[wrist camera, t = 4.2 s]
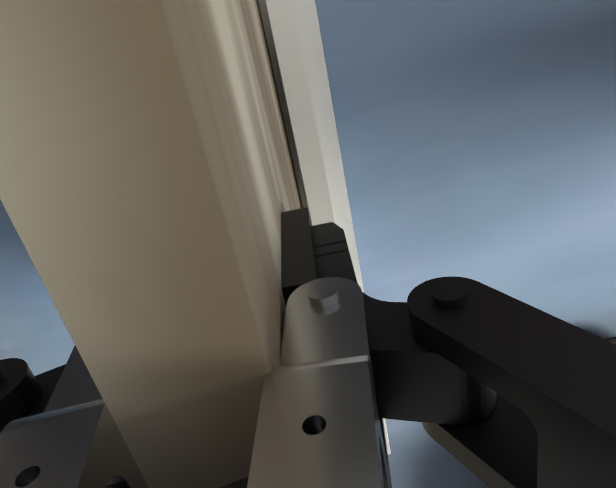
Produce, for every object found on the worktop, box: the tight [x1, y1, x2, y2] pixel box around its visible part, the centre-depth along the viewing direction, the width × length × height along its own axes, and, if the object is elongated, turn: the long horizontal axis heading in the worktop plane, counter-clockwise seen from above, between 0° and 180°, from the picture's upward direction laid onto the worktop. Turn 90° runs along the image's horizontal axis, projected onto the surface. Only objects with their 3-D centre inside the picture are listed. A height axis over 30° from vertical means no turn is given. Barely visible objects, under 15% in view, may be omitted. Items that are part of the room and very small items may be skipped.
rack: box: [259, 0, 391, 454], centre depth 27 cm, size 14×32×6 cm, turn 11°
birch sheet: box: [0, 0, 303, 488], centre depth 15 cm, size 2×12×18 cm, turn 11°
